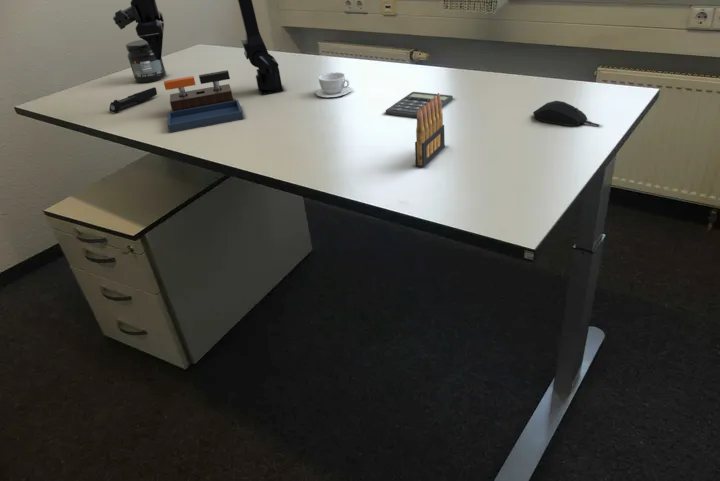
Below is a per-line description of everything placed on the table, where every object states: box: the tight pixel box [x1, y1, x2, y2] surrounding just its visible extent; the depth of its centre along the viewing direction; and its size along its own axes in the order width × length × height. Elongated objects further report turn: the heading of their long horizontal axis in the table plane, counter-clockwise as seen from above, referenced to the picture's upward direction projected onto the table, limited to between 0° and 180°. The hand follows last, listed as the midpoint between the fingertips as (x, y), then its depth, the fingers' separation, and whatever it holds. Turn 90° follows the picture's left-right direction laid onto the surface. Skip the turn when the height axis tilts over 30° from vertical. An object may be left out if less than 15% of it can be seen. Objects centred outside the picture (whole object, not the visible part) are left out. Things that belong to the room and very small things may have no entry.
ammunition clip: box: [414, 92, 446, 168], centre depth 111 cm, size 11×2×12 cm, turn 149°
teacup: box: [315, 72, 352, 98], centre depth 154 cm, size 10×10×5 cm
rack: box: [169, 83, 234, 112], centre depth 153 cm, size 17×7×4 cm, turn 106°
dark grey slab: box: [198, 69, 231, 91], centre depth 153 cm, size 8×2×9 cm, turn 106°
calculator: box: [385, 91, 454, 118], centre depth 139 cm, size 12×1×15 cm
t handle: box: [163, 75, 197, 97], centre depth 151 cm, size 8×2×9 cm, turn 106°
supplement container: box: [125, 39, 167, 84], centre depth 183 cm, size 10×10×12 cm
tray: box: [167, 99, 244, 133], centre depth 146 cm, size 19×11×2 cm, turn 106°
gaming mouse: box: [532, 100, 600, 127], centre depth 122 cm, size 6×15×4 cm, turn 49°
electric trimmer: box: [108, 86, 158, 114], centre depth 163 cm, size 4×16×3 cm, turn 142°
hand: (159, 55), depth 149 cm, fingers open, 9 cm apart
